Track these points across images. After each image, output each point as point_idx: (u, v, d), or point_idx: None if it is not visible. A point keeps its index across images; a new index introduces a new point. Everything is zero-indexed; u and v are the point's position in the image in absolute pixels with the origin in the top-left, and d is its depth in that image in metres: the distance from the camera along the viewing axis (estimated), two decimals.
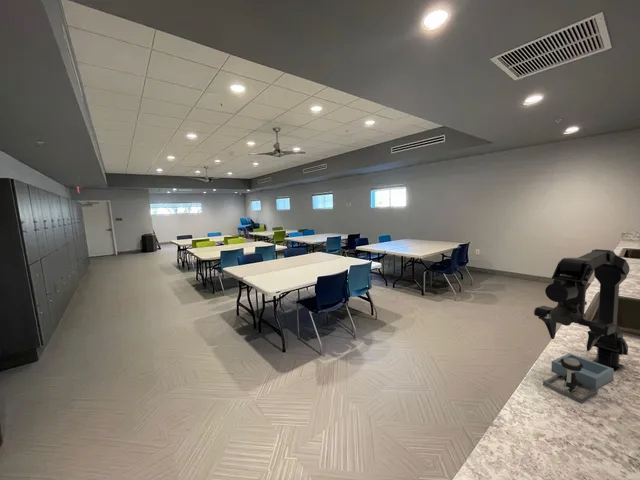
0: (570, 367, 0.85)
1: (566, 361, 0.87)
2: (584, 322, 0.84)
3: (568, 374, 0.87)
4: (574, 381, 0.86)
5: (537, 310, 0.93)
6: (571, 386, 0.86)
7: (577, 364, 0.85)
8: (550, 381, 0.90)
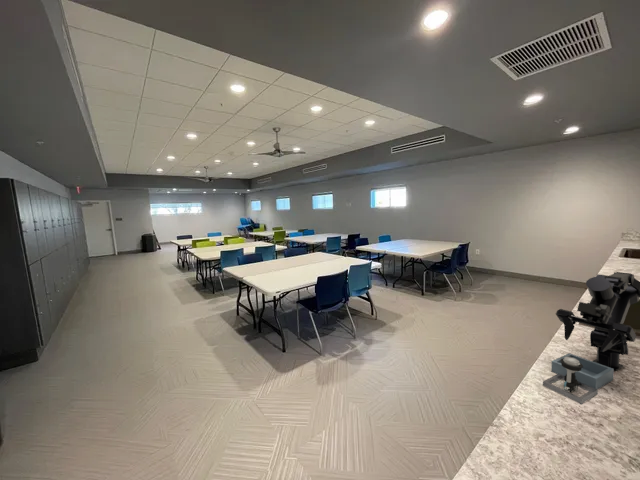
0: (570, 367, 0.85)
1: (566, 361, 0.87)
2: (606, 326, 0.88)
3: (568, 374, 0.87)
4: (574, 381, 0.86)
5: (561, 309, 0.98)
6: (571, 386, 0.86)
7: (577, 364, 0.85)
8: (550, 381, 0.90)
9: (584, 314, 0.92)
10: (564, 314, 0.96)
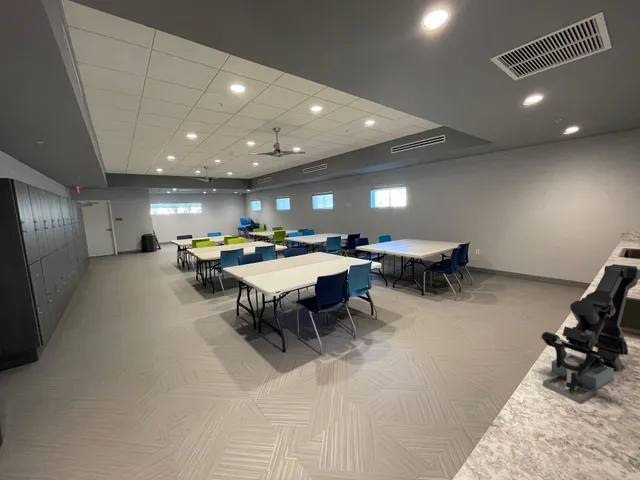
0: (570, 367, 0.85)
1: (566, 361, 0.87)
2: (592, 352, 0.85)
3: (568, 374, 0.86)
4: (574, 381, 0.86)
5: (546, 333, 0.95)
6: (571, 386, 0.86)
7: (577, 364, 0.85)
8: (550, 381, 0.90)
9: (570, 339, 0.89)
10: (549, 338, 0.93)
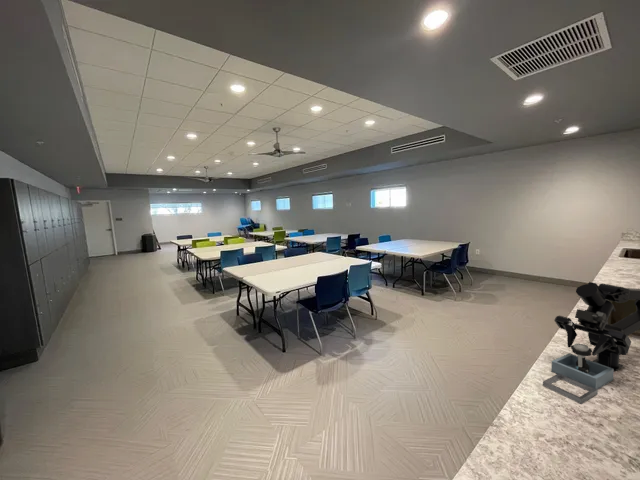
0: (580, 352, 0.92)
1: (576, 347, 0.94)
2: (602, 332, 0.92)
3: (579, 359, 0.94)
4: (585, 365, 0.93)
5: (559, 316, 1.01)
6: (583, 370, 0.93)
7: (587, 349, 0.92)
8: (550, 381, 0.90)
9: (581, 321, 0.96)
10: (562, 320, 1.00)
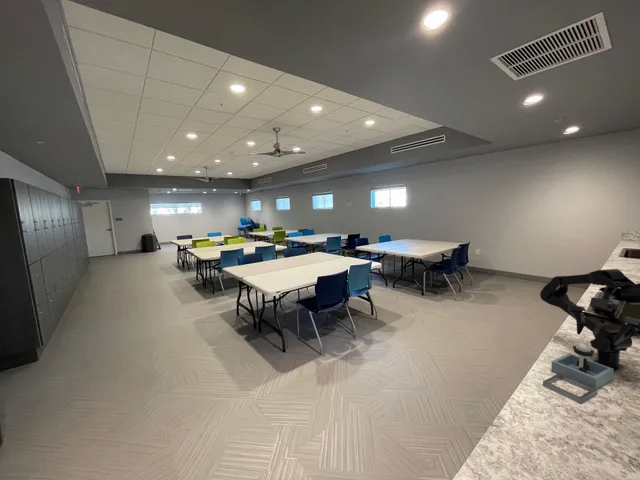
0: (582, 353, 0.92)
1: (578, 348, 0.94)
2: (618, 320, 0.91)
3: (580, 360, 0.93)
4: (586, 366, 0.93)
5: (573, 305, 1.01)
6: (583, 371, 0.93)
7: (589, 350, 0.92)
8: (550, 381, 0.90)
9: (596, 309, 0.95)
10: (576, 309, 0.99)
